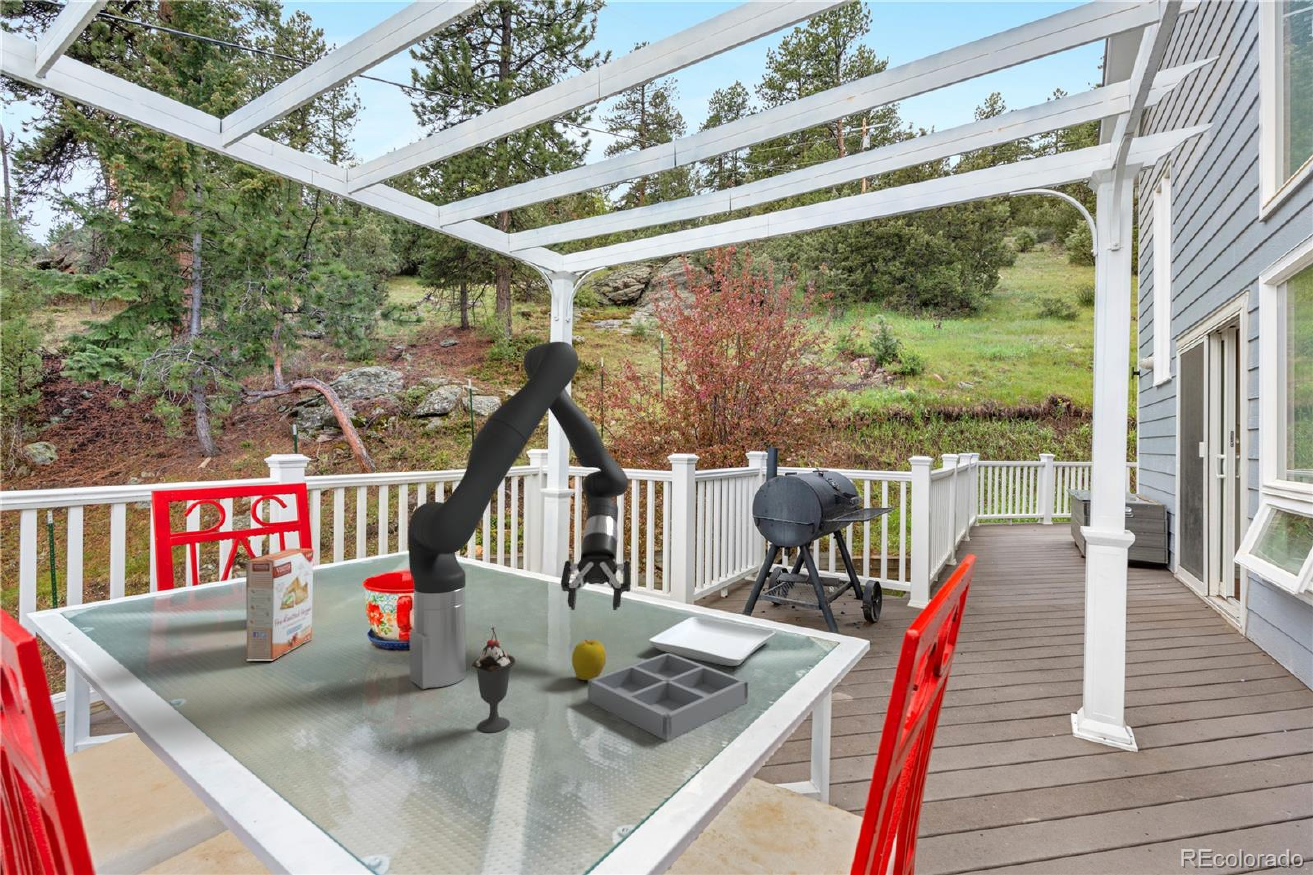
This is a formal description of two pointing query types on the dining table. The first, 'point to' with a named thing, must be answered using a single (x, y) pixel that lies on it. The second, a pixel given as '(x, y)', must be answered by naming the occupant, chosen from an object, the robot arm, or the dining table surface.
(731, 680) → the tray
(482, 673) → the sundae
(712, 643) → the salad plate
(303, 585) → the cracker box
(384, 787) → the dining table surface
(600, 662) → the apple
